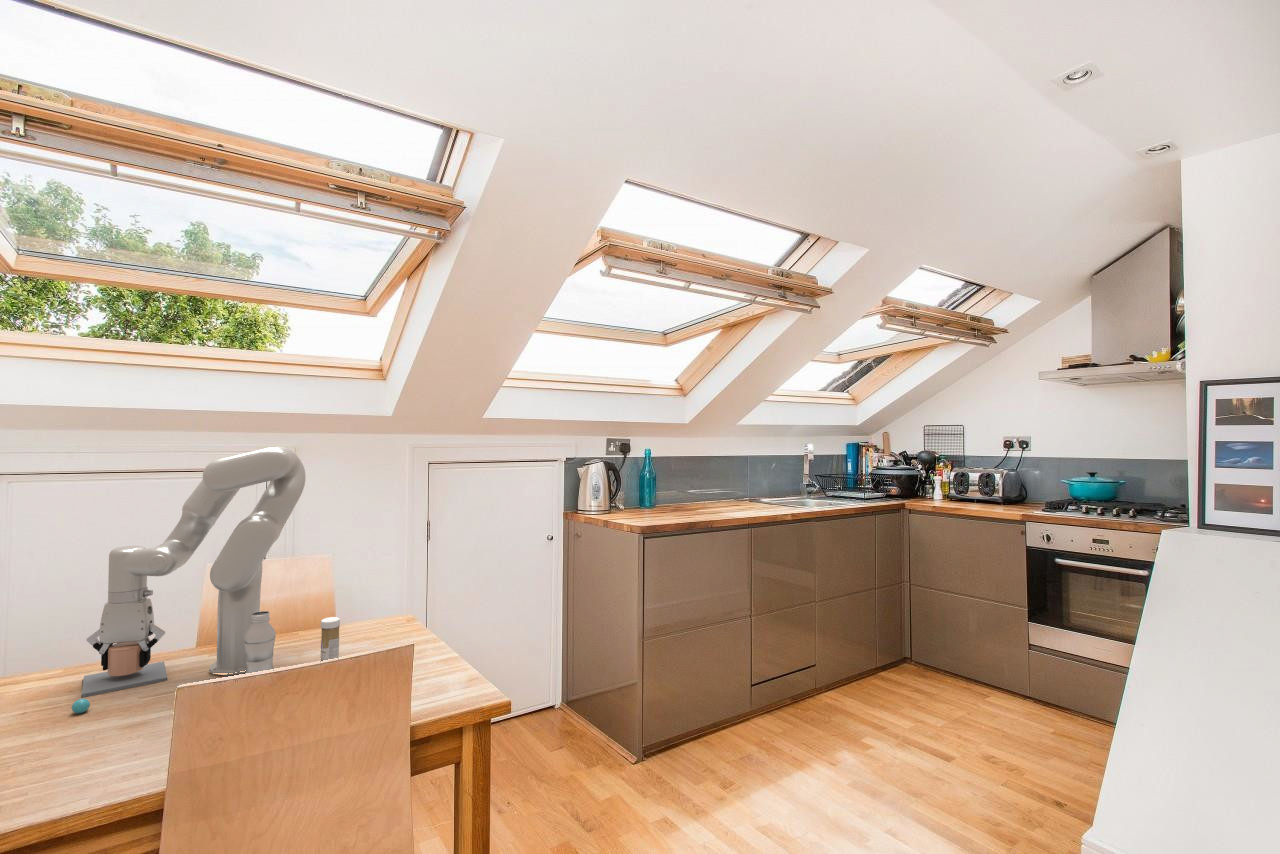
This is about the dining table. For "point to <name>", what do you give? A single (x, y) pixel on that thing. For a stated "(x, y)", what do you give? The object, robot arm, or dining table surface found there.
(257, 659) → the plastic bottle
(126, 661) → the peach domed cylinder
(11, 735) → the dining table surface
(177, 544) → the robot arm
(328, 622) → the sprinkles bottle
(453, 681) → the dining table surface
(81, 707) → the teal ball
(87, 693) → the slate mat
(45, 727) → the dining table surface
